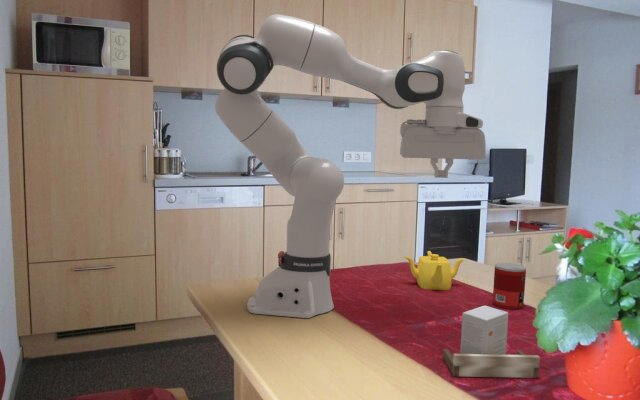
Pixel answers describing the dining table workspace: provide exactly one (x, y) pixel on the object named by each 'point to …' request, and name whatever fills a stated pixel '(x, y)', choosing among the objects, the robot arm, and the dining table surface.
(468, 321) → the small box
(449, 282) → the teapot
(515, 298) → the canned food
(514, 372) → the bay
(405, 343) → the dining table surface
